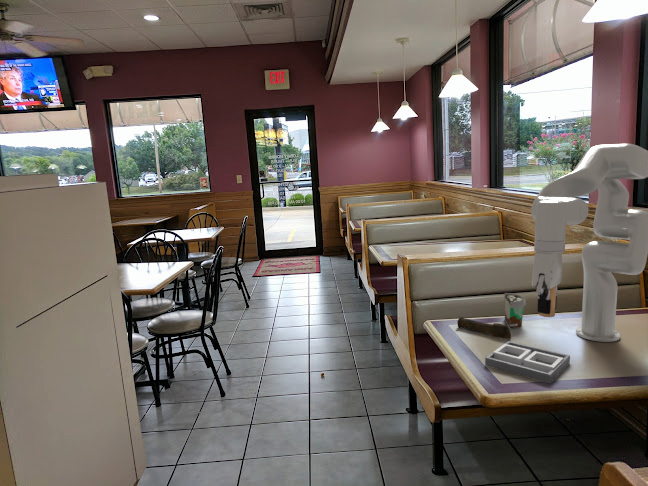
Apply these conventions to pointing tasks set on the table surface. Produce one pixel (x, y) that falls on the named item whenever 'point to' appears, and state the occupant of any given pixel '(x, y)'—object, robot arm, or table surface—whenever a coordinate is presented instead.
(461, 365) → the table surface
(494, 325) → the hand tool
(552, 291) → the rounded peg
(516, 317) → the food container
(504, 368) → the tray
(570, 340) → the table surface
